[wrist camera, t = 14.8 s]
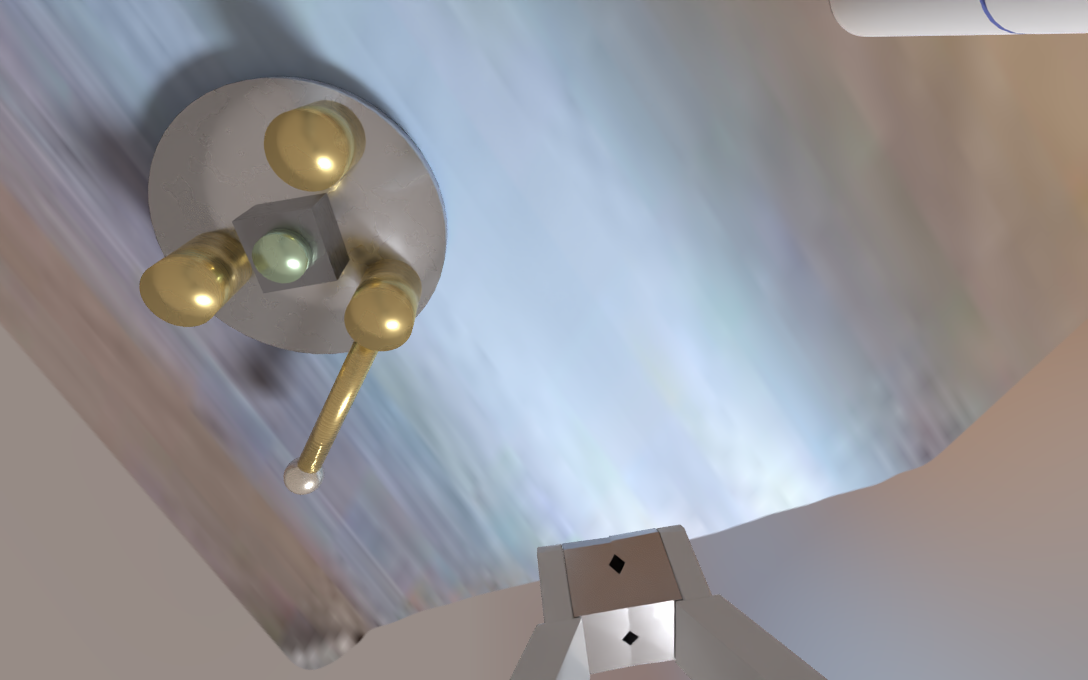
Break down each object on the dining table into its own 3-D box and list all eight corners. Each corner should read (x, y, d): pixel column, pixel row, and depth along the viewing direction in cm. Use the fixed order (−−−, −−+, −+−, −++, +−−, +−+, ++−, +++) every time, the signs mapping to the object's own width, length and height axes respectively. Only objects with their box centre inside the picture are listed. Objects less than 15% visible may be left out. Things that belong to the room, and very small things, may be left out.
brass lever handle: (375, 248, 39) (358, 280, 34) (431, 275, 41) (423, 309, 35) (287, 445, 47) (262, 495, 42) (336, 461, 48) (319, 512, 43)
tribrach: (106, 103, 35) (12, 117, 28) (408, 53, 36) (390, 55, 29) (235, 360, 45) (189, 418, 38) (471, 319, 45) (469, 369, 38)
